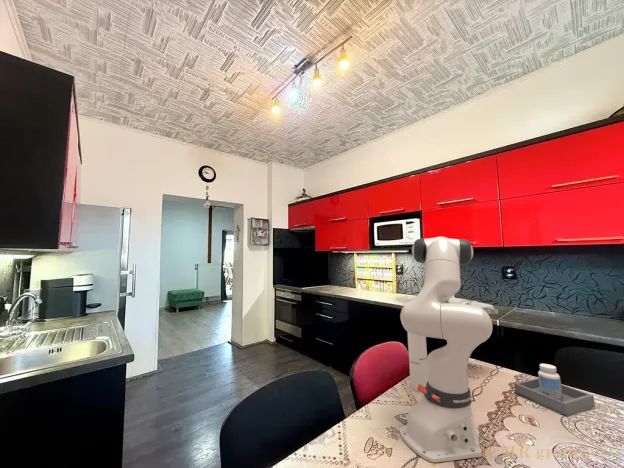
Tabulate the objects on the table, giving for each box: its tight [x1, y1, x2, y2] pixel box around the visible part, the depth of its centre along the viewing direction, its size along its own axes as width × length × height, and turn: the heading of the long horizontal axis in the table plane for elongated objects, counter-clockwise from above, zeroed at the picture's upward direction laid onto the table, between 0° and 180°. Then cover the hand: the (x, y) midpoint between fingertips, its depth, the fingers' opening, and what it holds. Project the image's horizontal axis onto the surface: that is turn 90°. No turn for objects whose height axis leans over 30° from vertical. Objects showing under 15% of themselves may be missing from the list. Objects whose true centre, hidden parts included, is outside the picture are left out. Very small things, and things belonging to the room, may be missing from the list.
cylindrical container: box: [407, 332, 428, 393], centre depth 107 cm, size 7×7×25 cm
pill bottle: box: [537, 363, 563, 401], centre depth 95 cm, size 6×6×11 cm
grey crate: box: [513, 376, 596, 418], centre depth 95 cm, size 16×16×4 cm
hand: (489, 312), depth 112 cm, fingers open, 8 cm apart
